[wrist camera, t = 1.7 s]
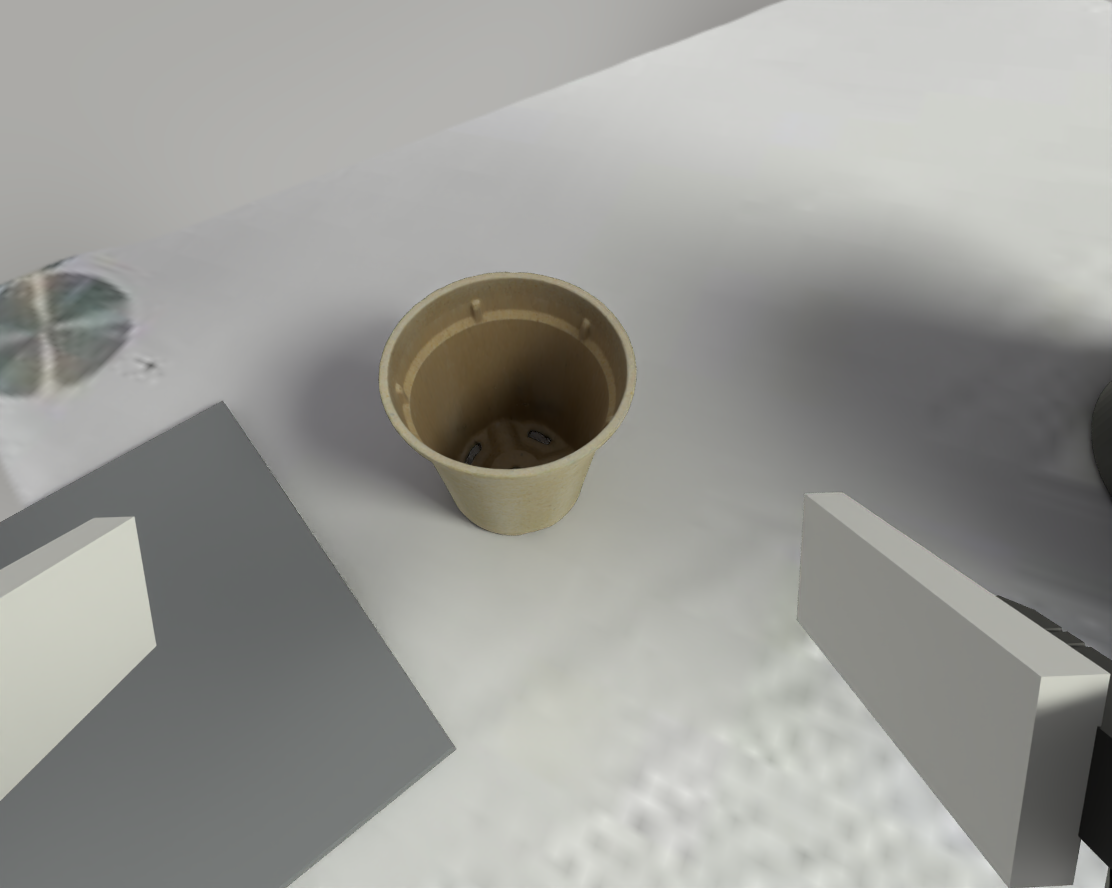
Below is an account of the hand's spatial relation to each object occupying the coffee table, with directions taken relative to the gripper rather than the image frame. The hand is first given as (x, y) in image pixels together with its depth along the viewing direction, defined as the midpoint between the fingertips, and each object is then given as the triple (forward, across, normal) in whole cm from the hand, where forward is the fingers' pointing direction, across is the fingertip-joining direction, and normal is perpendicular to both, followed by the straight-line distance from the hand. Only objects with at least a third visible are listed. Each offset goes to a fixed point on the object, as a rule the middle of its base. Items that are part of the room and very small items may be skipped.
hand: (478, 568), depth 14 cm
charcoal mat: (+13, -14, -10) cm, 22 cm away
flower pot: (+19, 0, -4) cm, 19 cm away
